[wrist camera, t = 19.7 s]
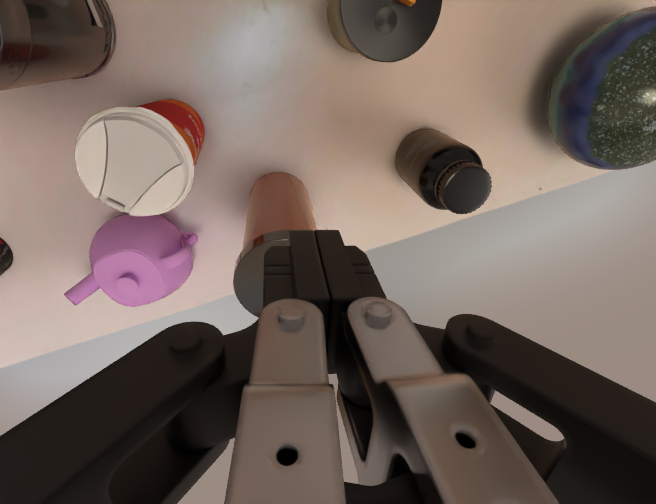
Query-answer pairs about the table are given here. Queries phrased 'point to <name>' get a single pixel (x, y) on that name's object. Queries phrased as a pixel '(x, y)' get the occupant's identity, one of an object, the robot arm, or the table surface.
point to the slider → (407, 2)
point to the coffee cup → (140, 156)
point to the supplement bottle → (443, 171)
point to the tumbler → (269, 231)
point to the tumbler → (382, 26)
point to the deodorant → (5, 256)
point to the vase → (608, 95)
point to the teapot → (136, 260)
